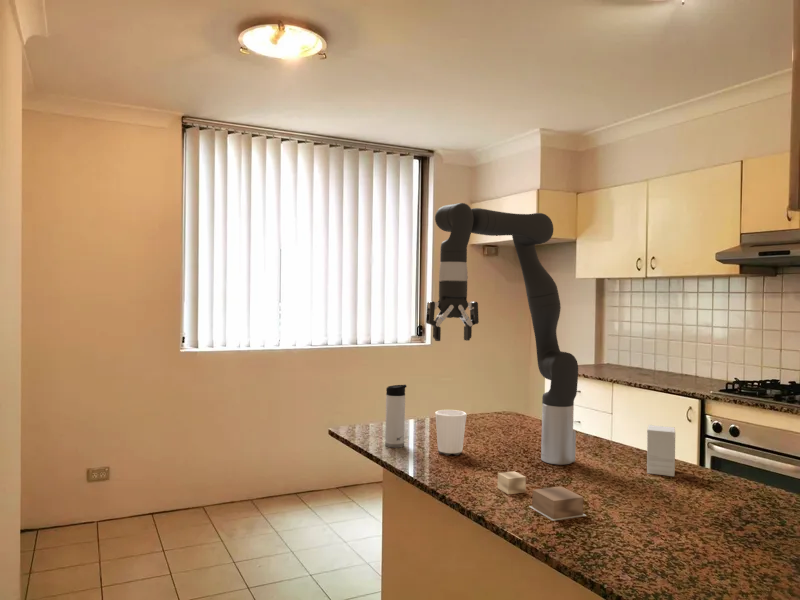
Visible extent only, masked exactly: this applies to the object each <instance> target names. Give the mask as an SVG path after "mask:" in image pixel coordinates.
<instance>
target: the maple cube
mask: <svg viewBox="0 0 800 600" xmlns="http://www.w3.org/2000/svg"><path fill="white" fill-rule="evenodd" d="M526 478H527V477H526V476H525V475H523V474H521V473H519V472H516V471H507V472H506V471H504V472H497V489H498V490H500V491H501V492H503V493H505V494H507V495H513V494H514V495H515V494H521V493H522V494H523V493H526V489H527V488H526V485H527V484H526Z"/></svg>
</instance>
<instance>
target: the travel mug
mask: <svg viewBox="0 0 800 600" xmlns="http://www.w3.org/2000/svg"><path fill="white" fill-rule="evenodd" d="M406 388H407V384H396V385H394V384H393V385H389V386H387V387H386V394H385V430H384V431H385V432H384V433H385V436H384V437H385V438H384V444H385V446H386V447H387V448H392V449H394V448H395V449H397V448H402V447H404V446H405V434H406V433H405V429H406V428H405V425H406V424H405V422H406Z"/></svg>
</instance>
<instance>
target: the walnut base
mask: <svg viewBox="0 0 800 600" xmlns="http://www.w3.org/2000/svg"><path fill="white" fill-rule="evenodd" d="M531 496H532V499H531V500H532V503H531V504H532V505H531V506H532V507H533V508H535V509H537V510H538V511H540V512H542V513H544V514H545V515H547V516H549V517H550V518H552V519H558V518H565V517H572V516H579V515H583V514H584V496H582V495H580V494H578V493H577V492H575V491H572V490H570V489H568V488H565V487H564V486H562V485H560V486H559V485H558V486H551V487H544V488H536V489H532V495H531Z"/></svg>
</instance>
